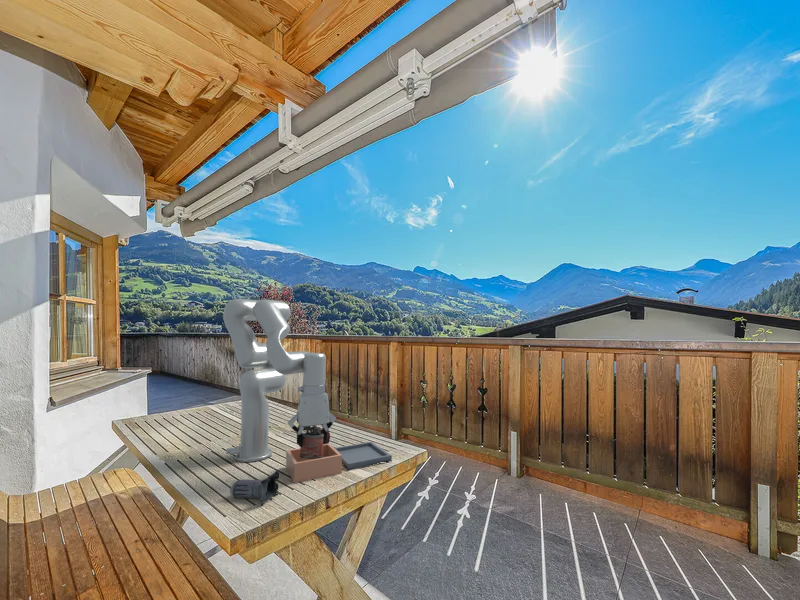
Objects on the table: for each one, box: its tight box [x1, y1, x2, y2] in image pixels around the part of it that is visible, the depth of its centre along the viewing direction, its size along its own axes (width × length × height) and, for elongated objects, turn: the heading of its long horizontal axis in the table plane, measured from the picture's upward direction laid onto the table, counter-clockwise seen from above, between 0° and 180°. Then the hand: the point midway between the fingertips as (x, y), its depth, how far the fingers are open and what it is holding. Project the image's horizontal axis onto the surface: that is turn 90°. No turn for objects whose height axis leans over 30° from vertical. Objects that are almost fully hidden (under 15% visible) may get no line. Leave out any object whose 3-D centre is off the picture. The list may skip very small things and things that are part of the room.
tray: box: [334, 441, 393, 471], centre depth 124 cm, size 16×18×2 cm
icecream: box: [320, 428, 331, 444], centre depth 137 cm, size 7×7×15 cm
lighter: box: [300, 426, 324, 459], centre depth 114 cm, size 8×3×10 cm, turn 80°
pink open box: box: [285, 442, 343, 484], centre depth 113 cm, size 15×14×6 cm
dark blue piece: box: [229, 470, 281, 507], centre depth 93 cm, size 9×8×12 cm
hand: (311, 443), depth 114 cm, fingers closed on lighter, 7 cm apart
